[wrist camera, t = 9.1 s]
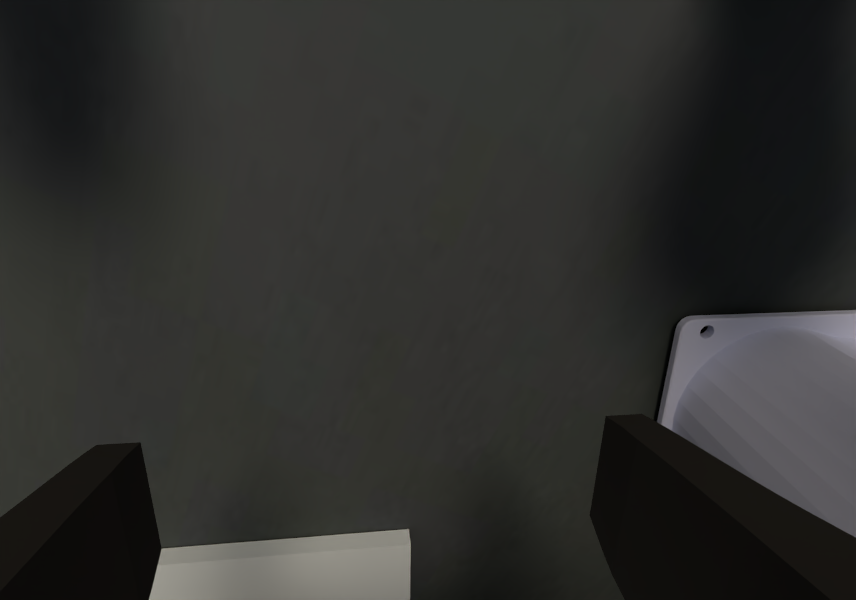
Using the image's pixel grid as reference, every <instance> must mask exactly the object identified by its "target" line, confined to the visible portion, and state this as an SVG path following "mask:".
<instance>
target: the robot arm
mask: <svg viewBox="0 0 856 600" xmlns="http://www.w3.org/2000/svg"><path fill="white" fill-rule="evenodd" d="M707 325H708V328H707V330H706V331H705V332H704V333H701V334H700V331H701V329H702V328H703V327H705V326H707ZM590 517H591V520H592V523H593V525H594V528H595V531H596V534H597V536H598V539H599V542H600V545H601V547H602V550H603V553H604V555H605V558H606V560H607V563H608V565H609V568H610V570H611V573H612V575H613V577H614V579H615V581H616V583H617V585H618V587H619V589H620V591H621V593H622V595H623V597H624V599H625V600H856V310H841V311H812V312H783V313H754V314H725V315H696V316H687V317H685V318H683V319H682V320H681V321H680V322H679V323H678V324H677V327H676V330H675V335H674V340H673V344H672V349H671V354H670V359H669V364H668V369H667V374H666V379H665V384H664V389H663V394H662V399H661V404H660V409H659V414H658V419H657V422H656V421H654V420H652V419H650V418H648V417H646V416H644V415H642V414H635V415H617V416H606V418H605V425H604V431H603V437H602V443H601V449H600V456H599V462H598V468H597V474H596V480H595V487H594V493H593V499H592V505H591V511H590ZM160 554H161V544H160V539H159V534H158V529H157V524H156V519H155V514H154V509H153V504H152V498H151V493H150V488H149V483H148V478H147V473H146V468H145V463H144V458H143V453H142V448H141V443H124V444H106V445H96V446H95V447H93V448H92V449H90V450H89V451H87V452H86V453H84V454H83V455H82V456H80V457H79V458H77V459H76V460H75V461H73V462H72V463H71V464H69V465H68V466H67V467H65V468H64V469H63V470H62V471H60V472H59V473H58V474H56V475H55V476H54V477H52V478H51V479H50V480H49V481H47V482H46V483H45V484H43V485H42V486H41V487H39V488H38V489H37V490H36V491H34V492H33V493H32V494H30V495H29V496H28V497H27V498H25V499H24V500H23V501H21V502H20V503H19V504H17V505H16V506H15V507H13V508H12V509H11V510H10V511H8V512H7V513H6V514H4V515H3V516H2V517H0V600H149V597H150V594H151V590H152V586H153V582H154V578H155V574H156V570H157V566H158V562H159V558H160Z"/></svg>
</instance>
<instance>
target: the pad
mask: <svg viewBox="0 0 856 600" xmlns="http://www.w3.org/2000/svg"><path fill="white" fill-rule="evenodd" d="M410 564H411V542H410V535H409V529H403V530H391V531H378V532H366V533H353V534H340V535H328V536H315V537H302V538H290V539H277V540H264V541H252V542H239V543H227V544H214V545H201V546H189V547H176V548H163V549H161V554H160V558H159V562H158V566H157V570H156V574H155V578H154V582H153V586H152V590H151V594H150V597H149V600H410Z"/></svg>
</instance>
